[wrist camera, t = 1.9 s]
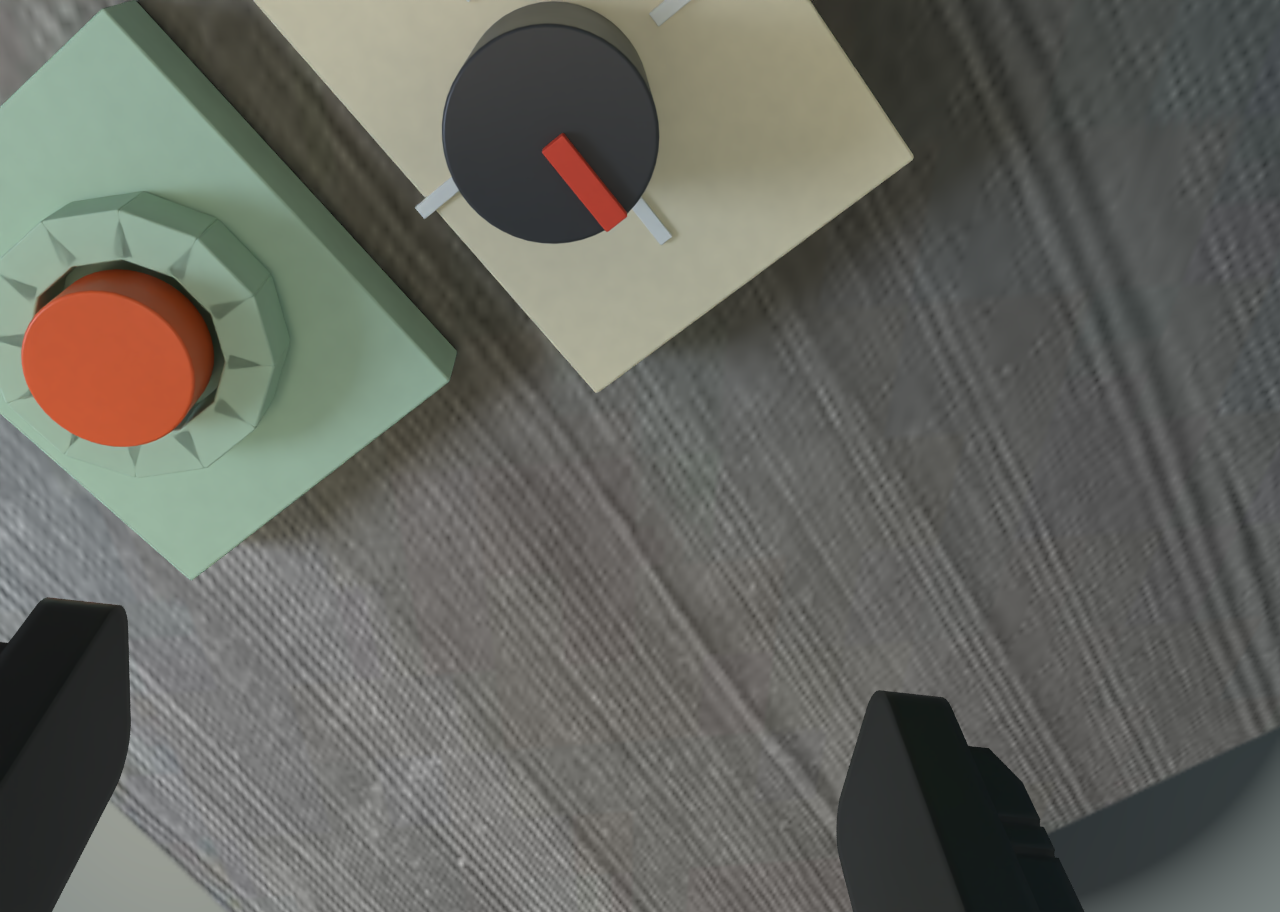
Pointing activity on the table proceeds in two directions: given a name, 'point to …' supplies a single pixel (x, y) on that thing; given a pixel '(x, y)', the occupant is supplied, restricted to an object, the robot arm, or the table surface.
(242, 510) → the button base
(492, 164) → the dial
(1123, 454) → the table surface
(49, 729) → the robot arm
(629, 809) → the table surface
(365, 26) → the dial panel
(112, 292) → the power button
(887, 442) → the table surface
